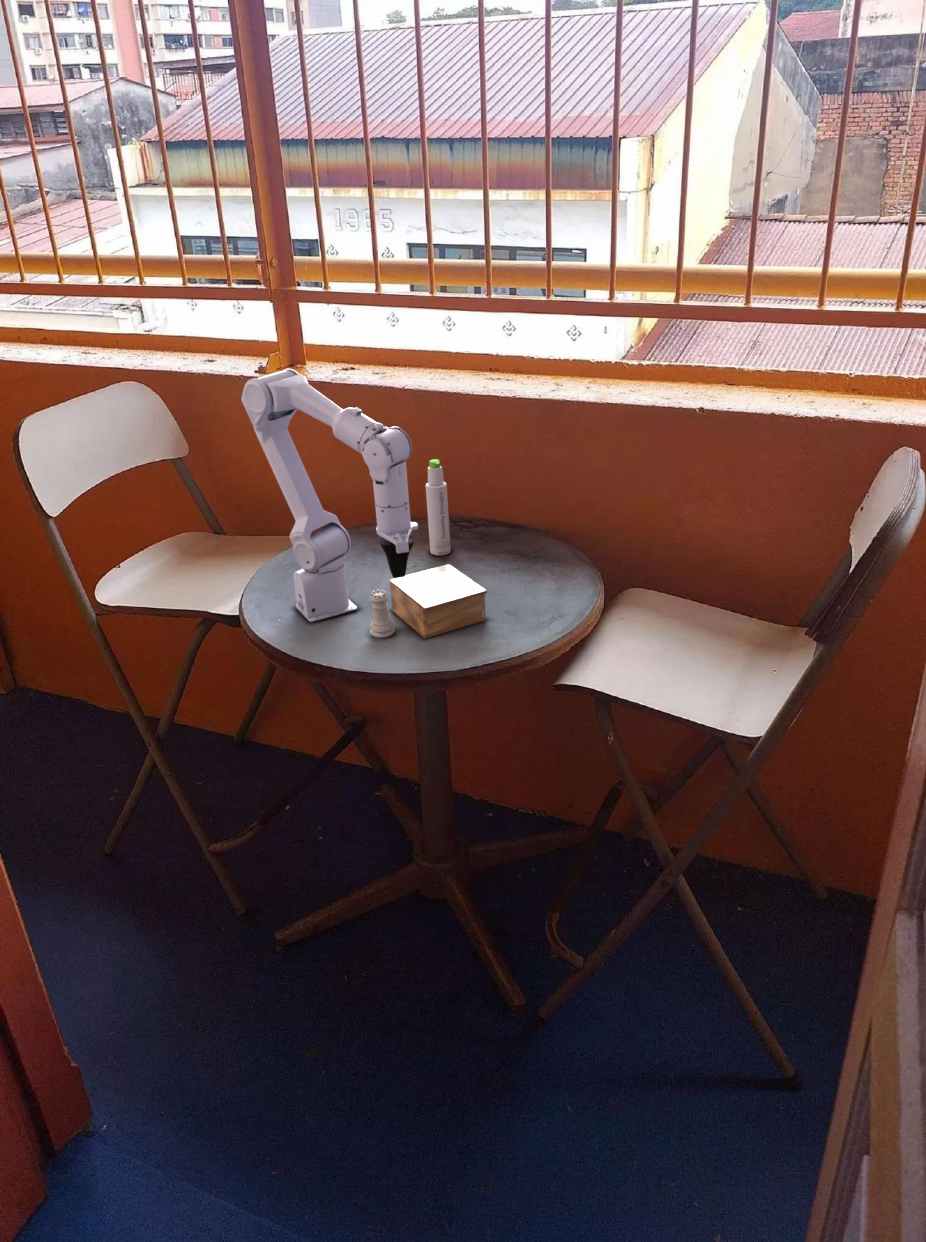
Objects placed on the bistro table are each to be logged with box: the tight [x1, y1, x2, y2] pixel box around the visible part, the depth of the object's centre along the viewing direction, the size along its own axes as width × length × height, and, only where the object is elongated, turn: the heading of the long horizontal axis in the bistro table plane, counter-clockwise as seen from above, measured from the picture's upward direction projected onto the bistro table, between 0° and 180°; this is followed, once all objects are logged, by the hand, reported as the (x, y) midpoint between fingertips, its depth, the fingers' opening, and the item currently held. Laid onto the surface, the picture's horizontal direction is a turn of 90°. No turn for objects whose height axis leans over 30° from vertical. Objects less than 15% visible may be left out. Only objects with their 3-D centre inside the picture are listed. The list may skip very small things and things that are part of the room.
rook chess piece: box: [369, 589, 396, 639], centre depth 162 cm, size 4×4×8 cm
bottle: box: [425, 458, 452, 556], centre depth 192 cm, size 4×4×20 cm
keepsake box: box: [389, 582, 487, 639], centre depth 168 cm, size 13×12×6 cm
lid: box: [389, 563, 488, 611], centre depth 166 cm, size 14×12×1 cm
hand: (398, 576), depth 161 cm, fingers closed
